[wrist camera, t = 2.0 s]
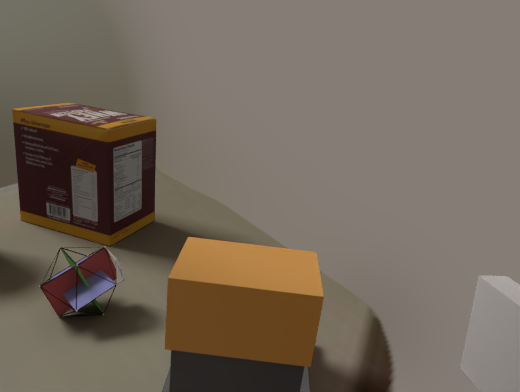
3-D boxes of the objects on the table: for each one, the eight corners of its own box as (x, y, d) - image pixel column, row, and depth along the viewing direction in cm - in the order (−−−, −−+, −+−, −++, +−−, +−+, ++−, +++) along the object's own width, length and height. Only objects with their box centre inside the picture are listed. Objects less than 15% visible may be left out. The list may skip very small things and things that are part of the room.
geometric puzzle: (37, 327, 36) (91, 247, 38) (13, 290, 41) (62, 220, 42) (102, 343, 42) (148, 272, 43) (74, 308, 46) (116, 246, 47)
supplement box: (72, 199, 69) (69, 101, 64) (155, 221, 65) (158, 117, 60) (18, 220, 60) (9, 107, 55) (110, 247, 55) (109, 127, 50)
